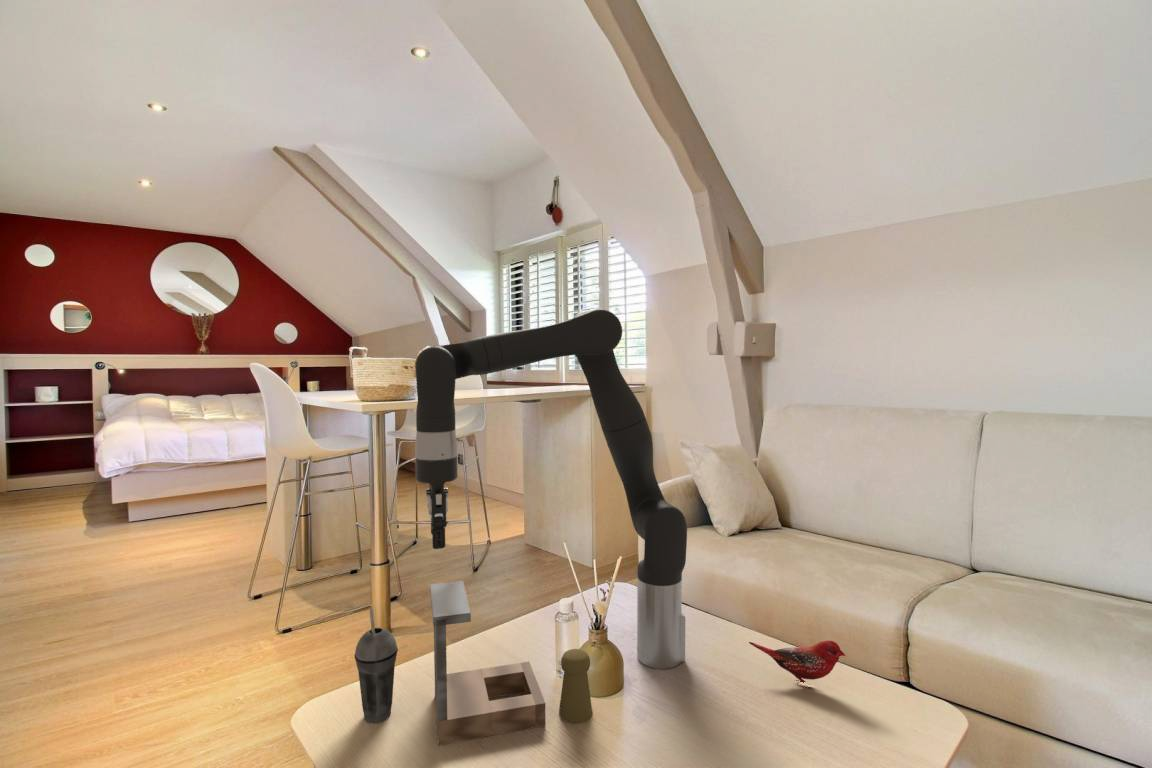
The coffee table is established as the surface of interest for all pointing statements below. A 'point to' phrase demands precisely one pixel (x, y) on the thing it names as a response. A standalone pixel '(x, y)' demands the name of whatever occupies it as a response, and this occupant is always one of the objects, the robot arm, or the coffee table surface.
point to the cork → (575, 687)
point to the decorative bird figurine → (806, 659)
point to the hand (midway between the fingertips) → (437, 540)
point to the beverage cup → (376, 672)
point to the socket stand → (477, 682)
